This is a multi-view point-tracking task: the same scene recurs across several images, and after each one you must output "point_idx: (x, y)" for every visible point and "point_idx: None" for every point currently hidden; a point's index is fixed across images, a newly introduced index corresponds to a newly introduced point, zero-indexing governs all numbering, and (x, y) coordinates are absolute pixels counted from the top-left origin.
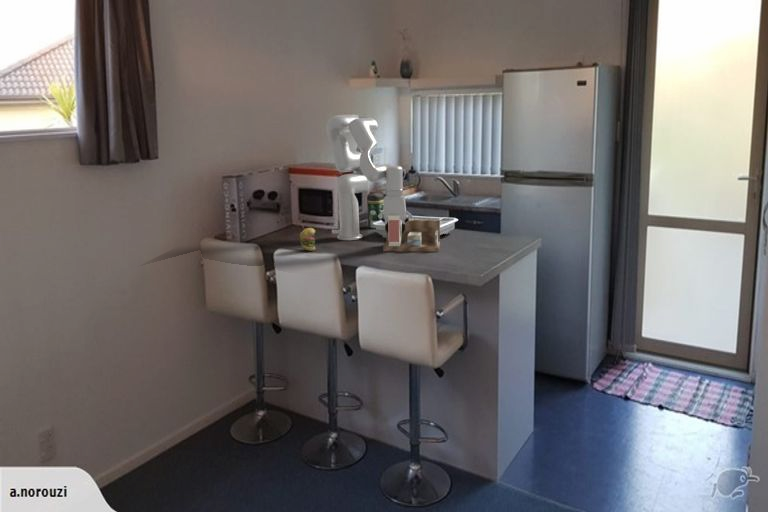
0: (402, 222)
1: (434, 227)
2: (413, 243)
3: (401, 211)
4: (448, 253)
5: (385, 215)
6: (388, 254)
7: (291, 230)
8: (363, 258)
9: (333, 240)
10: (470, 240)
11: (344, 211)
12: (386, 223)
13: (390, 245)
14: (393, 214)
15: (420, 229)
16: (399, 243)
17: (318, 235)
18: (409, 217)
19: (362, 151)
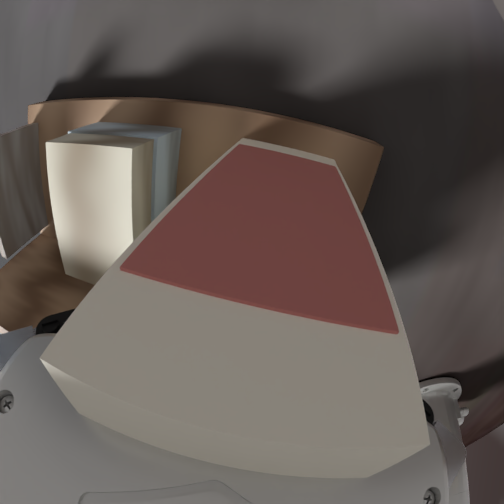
0: None
1: (8, 284)
2: (127, 127)
3: (11, 460)
4: (18, 75)
5: (425, 462)
6: (343, 31)
7: (478, 433)
8: (489, 7)
9: (476, 378)
10: None
11: (463, 480)
12: None
13: (320, 156)
14: (238, 483)
15: (73, 304)
16: (239, 141)
17: (468, 415)
18: (19, 341)
19: None
